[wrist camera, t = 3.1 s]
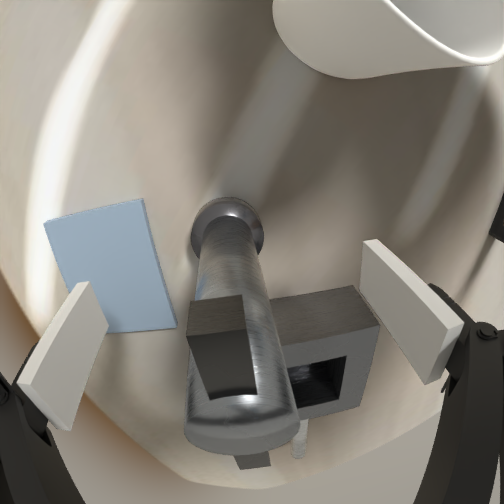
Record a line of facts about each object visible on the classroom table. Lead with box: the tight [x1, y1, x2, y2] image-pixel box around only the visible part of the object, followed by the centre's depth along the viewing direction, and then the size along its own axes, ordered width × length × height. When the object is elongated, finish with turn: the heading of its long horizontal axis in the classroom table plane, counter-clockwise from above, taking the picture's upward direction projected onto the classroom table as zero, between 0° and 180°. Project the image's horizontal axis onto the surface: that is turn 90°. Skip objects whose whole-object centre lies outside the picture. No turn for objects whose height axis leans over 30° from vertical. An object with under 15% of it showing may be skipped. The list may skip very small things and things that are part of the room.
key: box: [184, 197, 300, 470], centre depth 13 cm, size 7×4×14 cm, turn 6°
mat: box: [44, 199, 178, 333], centre depth 19 cm, size 10×8×1 cm
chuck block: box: [269, 286, 380, 459], centre depth 25 cm, size 23×10×5 cm, turn 6°
